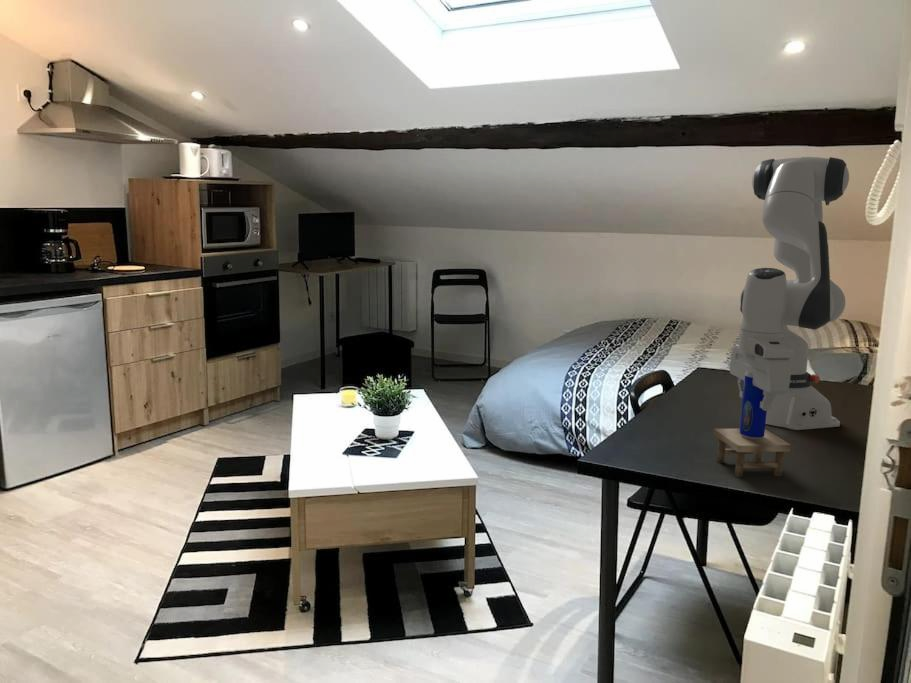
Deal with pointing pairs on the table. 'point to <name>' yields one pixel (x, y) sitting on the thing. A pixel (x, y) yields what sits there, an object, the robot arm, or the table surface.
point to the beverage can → (752, 410)
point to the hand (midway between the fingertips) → (754, 403)
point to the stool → (751, 449)
